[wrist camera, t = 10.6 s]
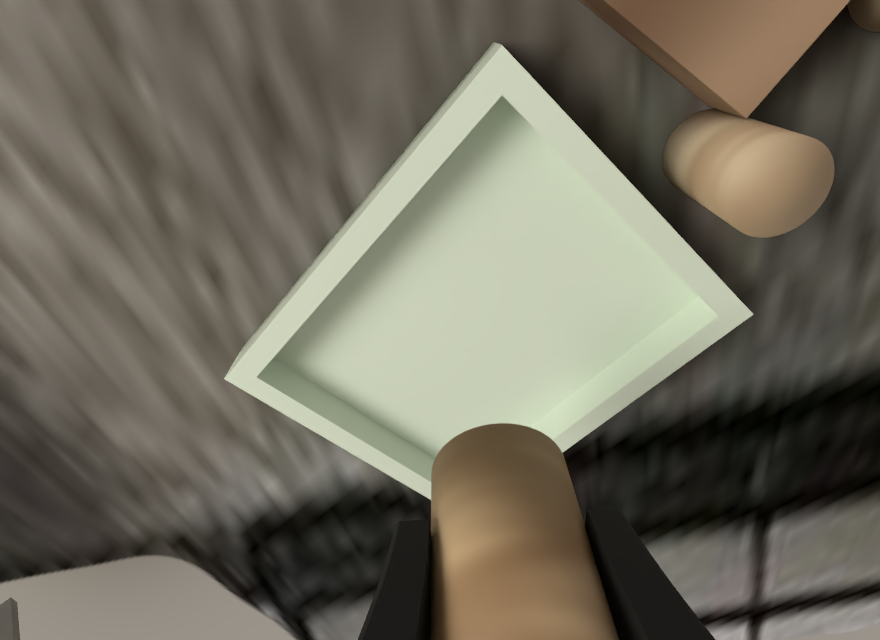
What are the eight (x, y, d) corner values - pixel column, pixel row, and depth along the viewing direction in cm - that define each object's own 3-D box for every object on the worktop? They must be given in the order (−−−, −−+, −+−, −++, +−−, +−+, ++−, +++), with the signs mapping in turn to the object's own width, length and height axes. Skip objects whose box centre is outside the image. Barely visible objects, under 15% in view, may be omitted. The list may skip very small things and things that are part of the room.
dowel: (563, 415, 11) (677, 755, 6) (567, 511, 13) (659, 845, 8) (420, 432, 11) (409, 776, 6) (442, 525, 13) (447, 858, 8)
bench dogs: (965, -27, 13) (1150, -44, 10) (692, 207, 17) (760, 255, 13) (926, -108, 12) (1114, -157, 9) (646, 155, 16) (706, 193, 12)
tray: (723, 286, 18) (753, 314, 16) (464, 484, 23) (467, 521, 21) (494, 42, 14) (502, 45, 12) (242, 346, 19) (224, 379, 17)
